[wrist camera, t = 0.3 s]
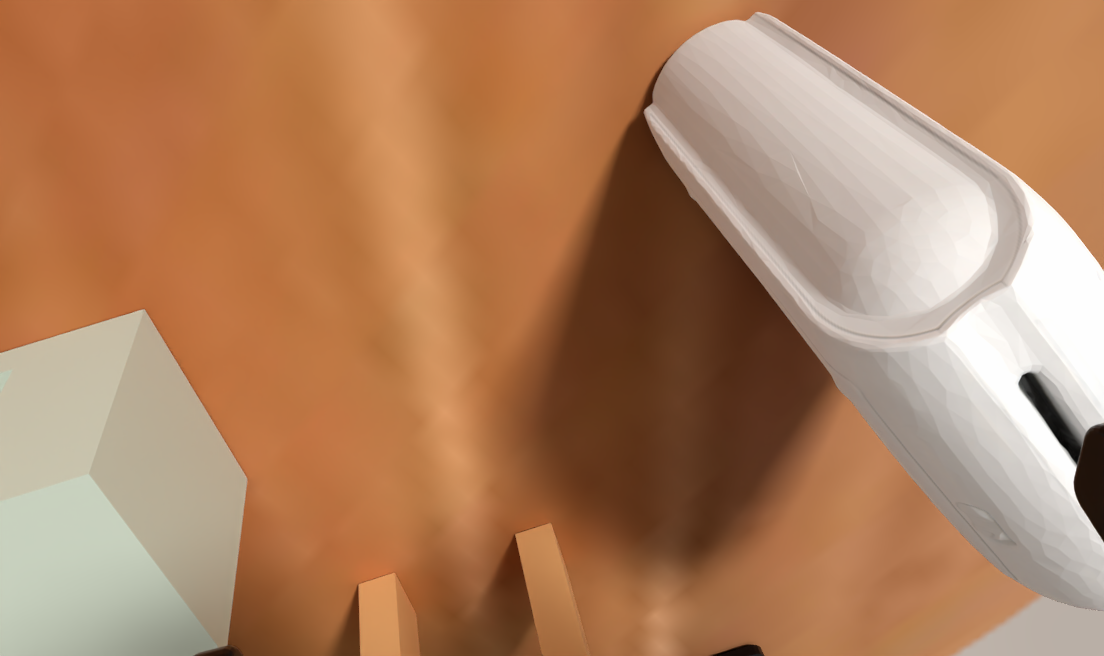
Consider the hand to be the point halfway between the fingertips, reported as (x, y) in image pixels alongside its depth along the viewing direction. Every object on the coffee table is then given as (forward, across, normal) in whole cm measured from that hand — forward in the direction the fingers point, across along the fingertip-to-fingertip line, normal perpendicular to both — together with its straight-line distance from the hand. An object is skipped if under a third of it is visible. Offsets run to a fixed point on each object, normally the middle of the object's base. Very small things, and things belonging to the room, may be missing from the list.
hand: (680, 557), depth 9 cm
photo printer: (+14, -7, +4) cm, 17 cm away
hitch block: (+14, +14, +7) cm, 21 cm away
